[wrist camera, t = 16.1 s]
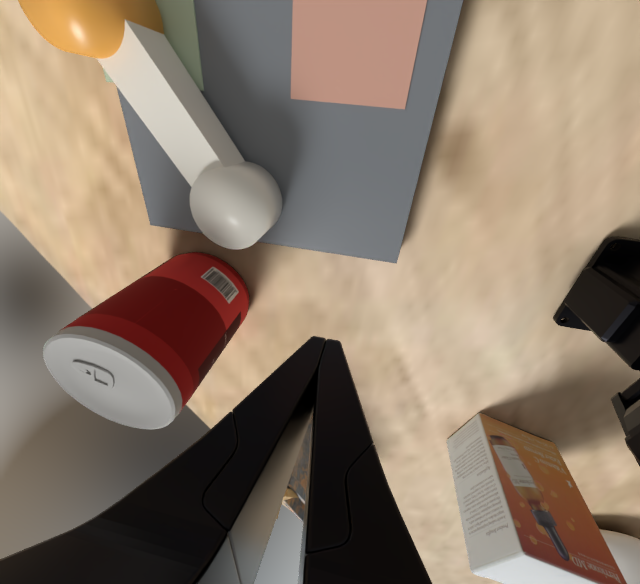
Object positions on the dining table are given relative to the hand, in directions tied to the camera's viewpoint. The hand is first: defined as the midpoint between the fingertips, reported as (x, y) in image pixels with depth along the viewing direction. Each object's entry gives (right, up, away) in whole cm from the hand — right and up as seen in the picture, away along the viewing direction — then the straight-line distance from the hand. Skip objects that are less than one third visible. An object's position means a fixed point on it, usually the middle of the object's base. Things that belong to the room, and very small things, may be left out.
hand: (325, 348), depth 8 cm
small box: (+18, -13, +20) cm, 29 cm away
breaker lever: (-7, +11, +8) cm, 16 cm away
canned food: (-10, +2, +17) cm, 20 cm away
